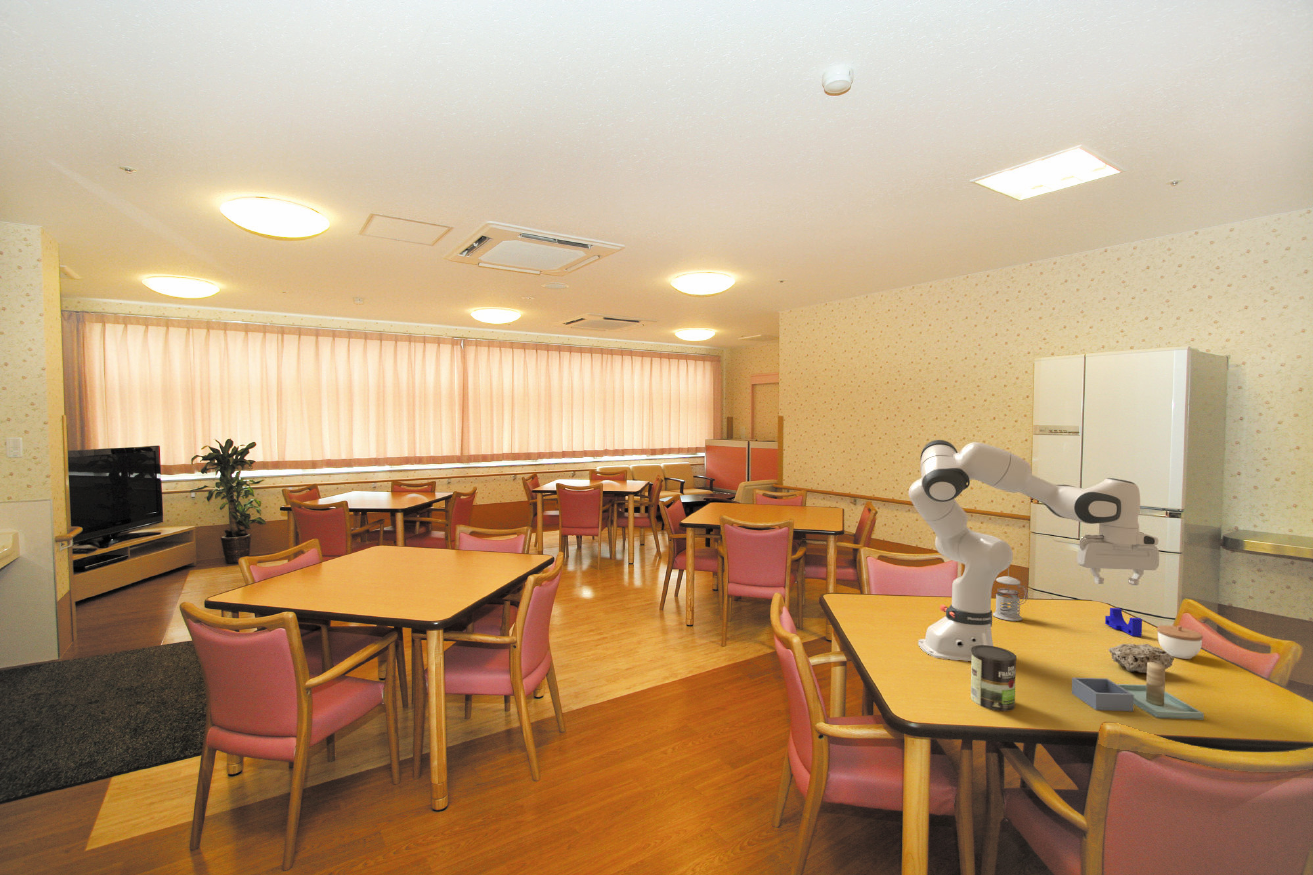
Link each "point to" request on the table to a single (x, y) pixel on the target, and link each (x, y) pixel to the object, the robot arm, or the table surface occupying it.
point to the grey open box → (1102, 694)
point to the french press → (1008, 600)
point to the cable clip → (1119, 623)
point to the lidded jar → (1179, 641)
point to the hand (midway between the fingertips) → (1116, 584)
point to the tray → (1168, 710)
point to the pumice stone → (1139, 656)
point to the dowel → (1155, 683)
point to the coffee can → (993, 677)
